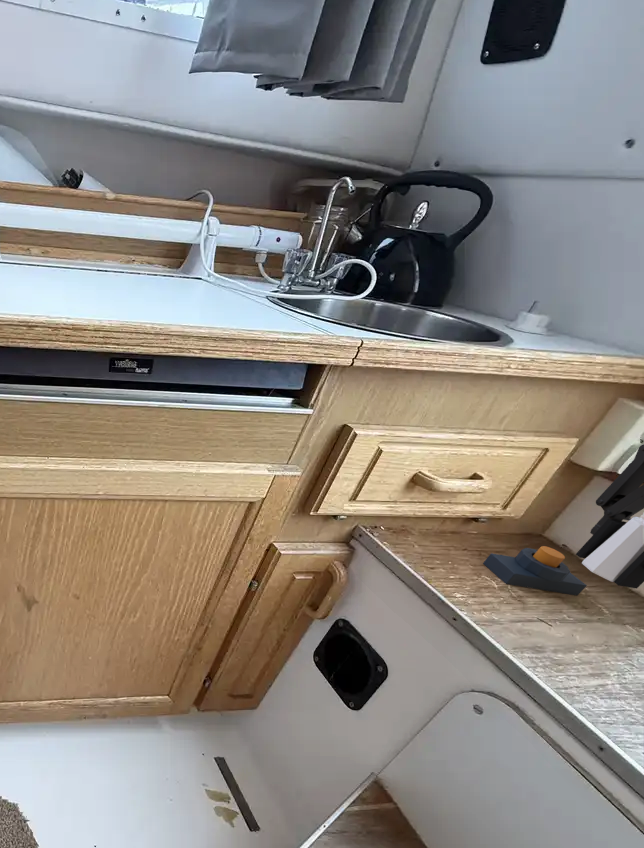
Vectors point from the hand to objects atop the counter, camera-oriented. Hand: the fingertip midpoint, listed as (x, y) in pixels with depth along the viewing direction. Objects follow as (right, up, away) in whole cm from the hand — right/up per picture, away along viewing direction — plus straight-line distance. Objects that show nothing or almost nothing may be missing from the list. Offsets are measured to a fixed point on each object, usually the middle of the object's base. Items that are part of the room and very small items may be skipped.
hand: (605, 570), depth 78 cm
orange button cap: (0, 0, +8) cm, 8 cm away
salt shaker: (0, 0, 0) cm, 1 cm away
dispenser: (-1, -3, +10) cm, 11 cm away
